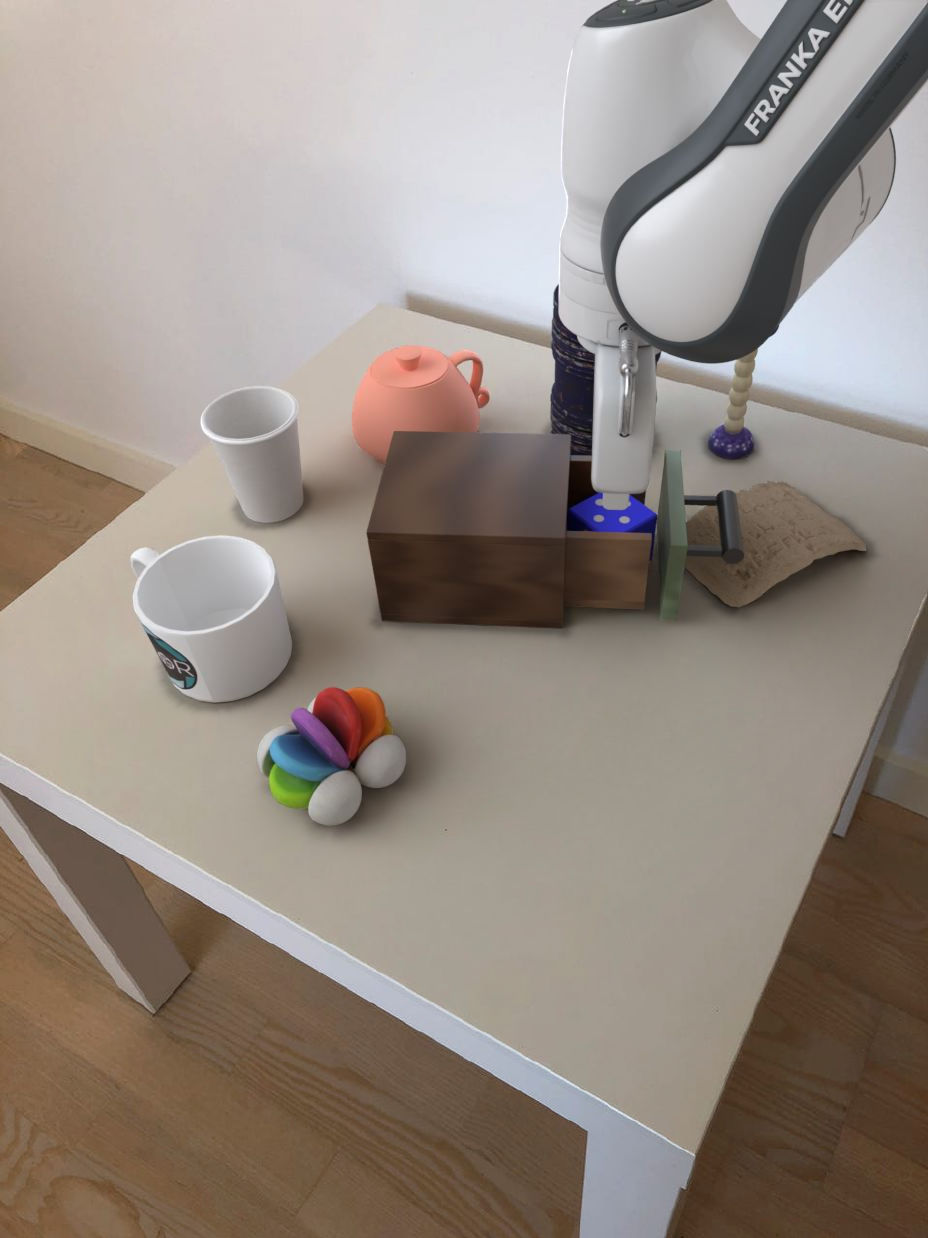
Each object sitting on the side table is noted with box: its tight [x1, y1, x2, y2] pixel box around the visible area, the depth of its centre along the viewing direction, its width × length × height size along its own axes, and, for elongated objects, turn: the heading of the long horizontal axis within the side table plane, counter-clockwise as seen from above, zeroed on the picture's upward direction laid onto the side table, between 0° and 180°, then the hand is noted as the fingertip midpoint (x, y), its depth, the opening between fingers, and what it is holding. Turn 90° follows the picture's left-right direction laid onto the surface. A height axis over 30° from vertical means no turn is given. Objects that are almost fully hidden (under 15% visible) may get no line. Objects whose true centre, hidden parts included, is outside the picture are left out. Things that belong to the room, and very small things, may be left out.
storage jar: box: [549, 283, 663, 456], centre depth 86 cm, size 10×10×15 cm
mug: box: [129, 534, 293, 704], centre depth 72 cm, size 13×10×8 cm
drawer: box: [564, 449, 744, 621], centre depth 75 cm, size 18×11×8 cm, turn 84°
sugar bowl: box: [351, 344, 491, 465], centre depth 89 cm, size 12×14×10 cm
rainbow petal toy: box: [256, 686, 407, 827], centre depth 64 cm, size 8×10×7 cm
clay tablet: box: [684, 480, 867, 608], centre depth 79 cm, size 14×10×3 cm
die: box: [568, 492, 658, 563], centre depth 75 cm, size 5×5×5 cm
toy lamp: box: [707, 324, 780, 460], centre depth 83 cm, size 5×5×17 cm
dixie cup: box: [200, 385, 304, 524], centre depth 84 cm, size 8×8×10 cm
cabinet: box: [366, 431, 571, 630], centre depth 76 cm, size 15×13×10 cm
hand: (615, 462), depth 70 cm, fingers open, 8 cm apart
